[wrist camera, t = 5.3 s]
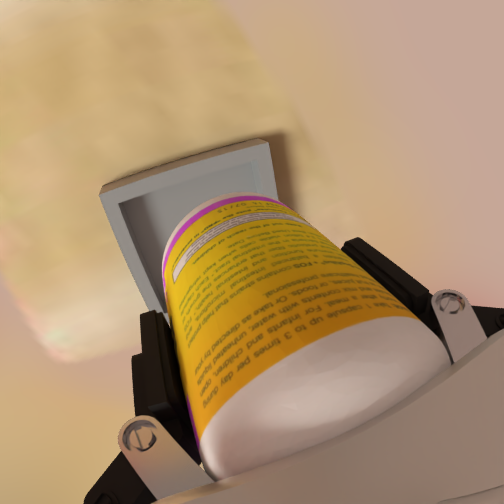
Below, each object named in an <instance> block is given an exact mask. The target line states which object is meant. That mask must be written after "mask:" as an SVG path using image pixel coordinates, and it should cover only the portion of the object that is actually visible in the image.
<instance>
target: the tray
mask: <svg viewBox="0 0 504 504" xmlns="http://www.w3.org/2000/svg"><path fill="white" fill-rule="evenodd" d="M235 192H253V193H259V194H263V195H267V196H270V197H272V198H274V199H277V200H278V195H277V189H276V183H275V177H274V171H273V165H272V159H271V153H270V147H269V142H267V141H264V140H262V139H260V138H256V139H252V140H248V141H244V142H240V143H236V144H232V145H228V146H225V147H221V148H217V149H214V150H210V151H207V152H203V153H200V154H196V155H193V156H189V157H186V158H183V159H180V160H176V161H173V162H170V163H167V164H164V165H161V166H158V167H154V168H151V169H149V170H146V171H143V172H140V173H137V174H134V175H131V176H128V177H125V178H123V179H120V180H117V181H114V182H112V183H109V184H106V185H104V186H102V188H101V191H100V193H99V197H100V199H101V202H102V205H103V207H104V210H105V212H106V215H107V217H108V220H109V222H110V225H111V227H112V230H113V232H114V235H115V237H116V239H117V242H118V244H119V247H120V249H121V251H122V253H123V256H124V258H125V260H126V263H127V265H128V267H129V269H130V271H131V274H132V276H133V278H134V280H135V282H136V284H137V287H138V289H139V291H140V293H141V295H142V297H143V299H144V301H145V303H146V305H147V307H148V309H149V311H152V310H156V312H157V313H159V312H163V314H164V316H165V318H166V320H167V322H168V323H170V322H169V317H168V312H167V305H166V299H165V293H164V287H163V278H162V261H163V255H164V251H165V248H166V245H167V242H168V240H169V238H170V236H171V234H172V233H173V231H174V230H175V228H176V227H177V225H178V224H179V223H180V222H181V220H182V219H183V218H184V217H185V216H186V215H188V214H189V213H190V212H191V211H192V210H193V209H195V208H196V207H197V206H199V205H201V204H202V203H204V202H206V201H208V200H210V199H212V198H215V197H218V196H221V195H224V194H229V193H235Z"/></svg>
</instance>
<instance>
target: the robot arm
mask: <svg viewBox="0 0 504 504" xmlns="http://www.w3.org/2000/svg"><path fill="white" fill-rule="evenodd" d="M341 251H343V252H344V253H345V254H346V255H347V256H348V257H350V258H351V259H352V260H353V261H354V262H355V263H357V264H358V265H359V266H360V267H361V268H362V269H363V270H365V271H366V272H367V273H368V274H369V275H370V276H371V277H373V278H374V279H375V280H376V281H377V282H378V283H379V284H381V285H382V286H383V287H384V288H385V289H386V290H387V291H388V292H390V293H391V294H392V295H393V296H394V297H395V298H396V299H397V300H399V301H400V302H401V303H402V304H403V305H404V306H405V307H406V308H408V309H409V310H410V311H411V312H412V313H413V314H414V315H415V316H416V317H417V318H418V319H419V320H420V321H422V322H423V323H424V324H425V325H426V326H427V327H428V328H429V329H430V330H431V331H432V332H433V333H434V334H435V335H436V336H437V337H438V338H439V339H440V341H441V342H442V343H443V345H444V347H445V348H446V351H447V353H448V355H449V358H450V362H451V366H450V367H448V368H447V369H446V370H444V371H443V372H441V373H440V374H439V375H437V376H436V377H434V378H433V379H431V380H430V381H428V382H427V383H425V384H424V385H422V386H421V387H419V388H418V389H417V390H416V391H414V392H413V393H412V394H410V395H409V396H407V397H406V398H405V399H403V400H402V401H400V402H399V403H397V404H396V405H394V406H393V407H391V408H390V409H388V410H386V411H385V412H383V413H382V414H380V415H378V416H376V417H375V418H373V419H371V420H369V421H367V422H366V423H364V424H362V425H360V426H358V427H356V428H354V429H352V430H350V431H348V432H346V433H344V434H341V435H339V436H337V437H334V438H332V439H330V440H327V441H325V442H322V443H319V444H317V445H314V446H312V447H309V448H307V449H304V450H302V451H300V452H297V453H295V454H292V455H290V456H288V457H285V458H283V459H280V460H277V461H275V462H272V463H270V464H267V465H264V466H261V467H259V468H256V469H253V470H250V471H247V472H244V473H241V474H239V475H236V476H233V477H229V478H226V479H223V480H220V481H217V482H215V481H213V480H212V479H211V478H210V477H209V476H208V475H207V474H206V472H205V471H204V470H203V469H202V468H201V467H200V466H199V465H200V464H201V462H202V460H201V457H200V454H199V451H198V447H197V443H196V439H195V435H194V431H193V427H192V423H191V420H190V416H189V412H188V407H187V403H186V399H185V395H184V390H183V386H182V381H181V377H180V373H179V369H178V364H177V359H176V354H175V349H174V343H173V338H172V334H171V329H170V327H169V325H168V322H167V320H166V318H165V316H164V314H163V312H159V313H157V312H156V310H152V311H149V312H146V313H143V314H140V328H141V344H142V353H140V354H137V355H134V356H132V380H133V394H134V407H135V417H134V418H132V419H130V420H128V421H127V422H126V423H125V424H124V425H123V426H122V428H121V429H120V431H119V435H118V444H119V447H120V449H121V452H120V453H119V454H118V456H117V457H116V458H115V459H114V461H113V462H112V463H111V464H110V466H109V467H108V468H107V469H106V471H105V472H104V473H103V474H102V476H101V477H100V478H99V479H98V481H97V482H96V483H95V485H94V486H93V487H92V488H91V489H90V491H89V492H88V493H87V495H86V497H85V499H84V504H504V308H492V307H481V306H471V305H470V303H469V301H468V300H467V298H466V297H465V296H464V295H463V294H461V293H460V292H458V291H455V290H450V289H449V290H441V291H438V292H437V293H435V294H434V295H432V294H430V293H429V290H428V289H427V288H425V287H424V286H423V285H421V284H420V283H419V282H418V281H417V280H415V279H414V278H413V277H411V276H410V275H409V274H408V273H406V272H405V271H404V270H402V269H401V268H400V267H399V266H397V265H396V264H395V263H393V262H392V261H391V260H389V259H388V258H387V257H385V256H384V255H383V254H381V253H380V252H379V251H377V250H376V249H375V248H373V247H372V246H371V245H369V244H368V243H366V242H365V241H364V240H362V239H361V238H359V237H357V238H354V239H352V240H349V241H346V242H345V243H344V247H342V248H341Z"/></svg>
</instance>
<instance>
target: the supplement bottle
mask: <svg viewBox="0 0 504 504" xmlns="http://www.w3.org/2000/svg"><path fill="white" fill-rule="evenodd" d="M162 278H163V287H164V293H165V299H166V305H167V312H168V317H169V322H170V328H171V334H172V338H173V343H174V349H175V354H176V359H177V364H178V369H179V373H180V377H181V381H182V386H183V390H184V395H185V399H186V403H187V407H188V412H189V416H190V420H191V423H192V427H193V431H194V435H195V439H196V443H197V447H198V451H199V454H200V457H201V460H202V464H203V467H204V470H205V472H206V474H207V475H208V476H209V477H210V478H211V479H212V480H213V481H215V482H217V481H220V480H223V479H226V478H229V477H233V476H236V475H239V474H241V473H244V472H247V471H250V470H253V469H256V468H259V467H261V466H264V465H267V464H270V463H272V462H275V461H277V460H280V459H283V458H285V457H288V456H290V455H292V454H295V453H297V452H300V451H302V450H304V449H307V448H309V447H312V446H314V445H317V444H319V443H322V442H325V441H327V440H330V439H332V438H334V437H337V436H339V435H341V434H344V433H346V432H348V431H350V430H352V429H354V428H356V427H358V426H360V425H362V424H364V423H366V422H367V421H369V420H371V419H373V418H375V417H376V416H378V415H380V414H382V413H383V412H385V411H386V410H388V409H390V408H391V407H393V406H394V405H396V404H397V403H399V402H400V401H402V400H403V399H405V398H406V397H407V396H409V395H410V394H412V393H413V392H414V391H416V390H417V389H418V388H419V387H421V386H422V385H424V384H425V383H427V382H428V381H430V380H431V379H433V378H434V377H436V376H437V375H439V374H440V373H441V372H443V371H444V370H446V369H447V368H448V367H450V366H451V362H450V358H449V355H448V353H447V351H446V348H445V347H444V345H443V343H442V342H441V341H440V339H439V338H438V337H437V336H436V335H435V334H434V333H433V332H432V331H431V330H430V329H429V328H428V327H427V326H426V325H425V324H424V323H423V322H422V321H420V320H419V319H418V318H417V317H416V316H415V315H414V314H413V313H412V312H411V311H410V310H409V309H408V308H406V307H405V306H404V305H403V304H402V303H401V302H400V301H399V300H397V299H396V298H395V297H394V296H393V295H392V294H391V293H390V292H388V291H387V290H386V289H385V288H384V287H383V286H382V285H381V284H379V283H378V282H377V281H376V280H375V279H374V278H373V277H371V276H370V275H369V274H368V273H367V272H366V271H365V270H363V269H362V268H361V267H360V266H359V265H358V264H357V263H355V262H354V261H353V260H352V259H351V258H350V257H348V256H347V255H346V254H345V253H344V252H343V251H341V250H340V249H339V248H338V247H337V246H336V245H334V244H333V243H332V242H331V241H330V240H329V239H327V238H326V237H325V236H324V235H323V234H321V233H320V232H319V231H318V230H317V229H316V228H314V227H313V226H312V225H311V224H310V223H308V222H307V221H306V220H305V219H303V218H302V217H301V216H300V215H298V214H297V213H296V212H294V211H293V210H292V209H291V208H289V207H288V206H286V205H285V204H283V203H282V202H280V201H278V200H277V199H274V198H272V197H270V196H267V195H263V194H259V193H253V192H235V193H229V194H224V195H221V196H218V197H215V198H212V199H210V200H208V201H206V202H204V203H202V204H201V205H199V206H197V207H196V208H195V209H193V210H192V211H191V212H190V213H189V214H188V215H186V216H185V217H184V218H183V219H182V220H181V222H180V223H179V224H178V225H177V227H176V228H175V230H174V231H173V233H172V234H171V236H170V238H169V240H168V242H167V245H166V248H165V251H164V255H163V261H162Z"/></svg>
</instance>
